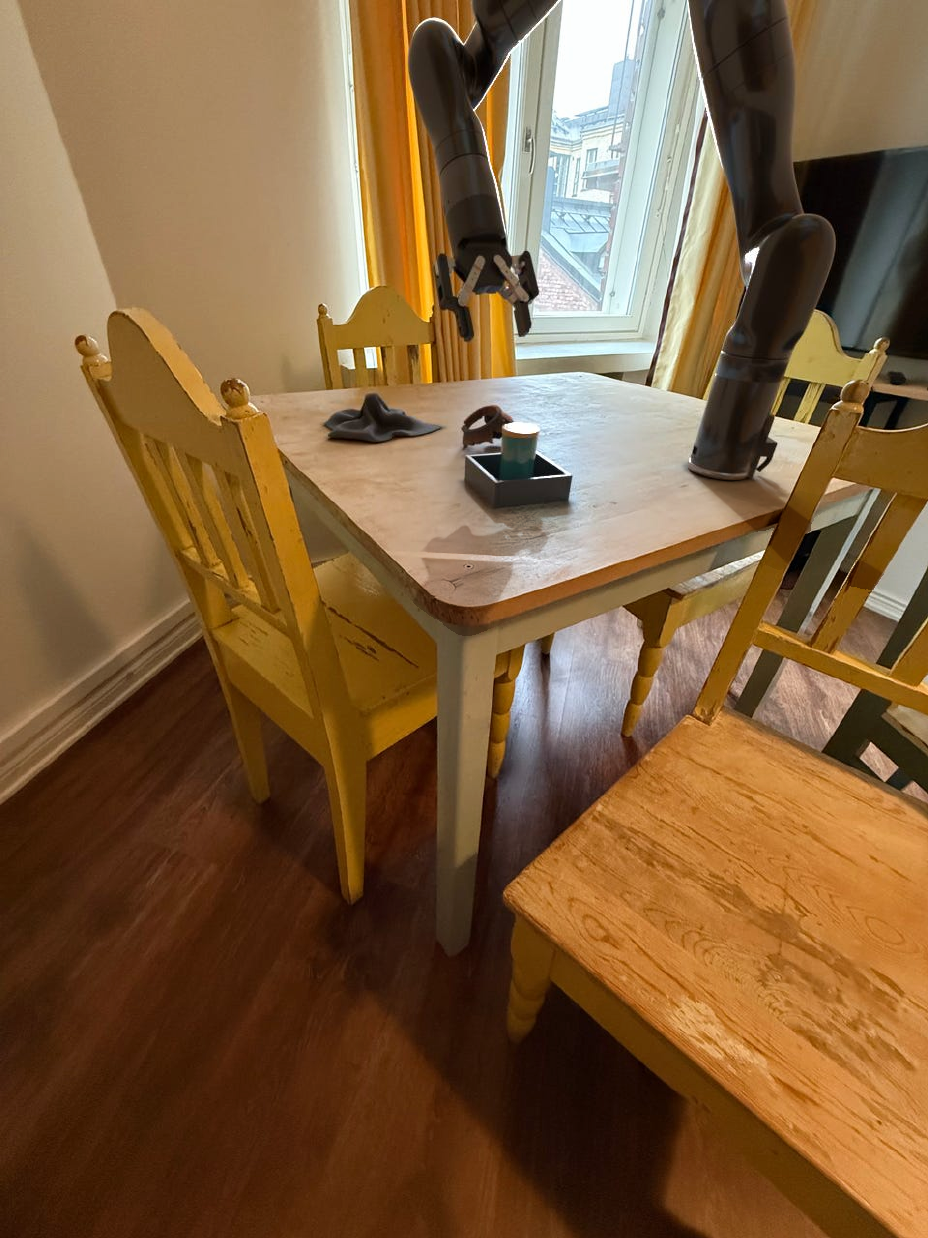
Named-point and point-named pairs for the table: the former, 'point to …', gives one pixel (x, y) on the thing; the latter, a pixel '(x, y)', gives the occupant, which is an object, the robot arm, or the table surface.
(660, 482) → the table surface
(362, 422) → the cloth
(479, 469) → the bin
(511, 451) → the spice jar
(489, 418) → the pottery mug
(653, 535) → the table surface
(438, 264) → the robot arm
